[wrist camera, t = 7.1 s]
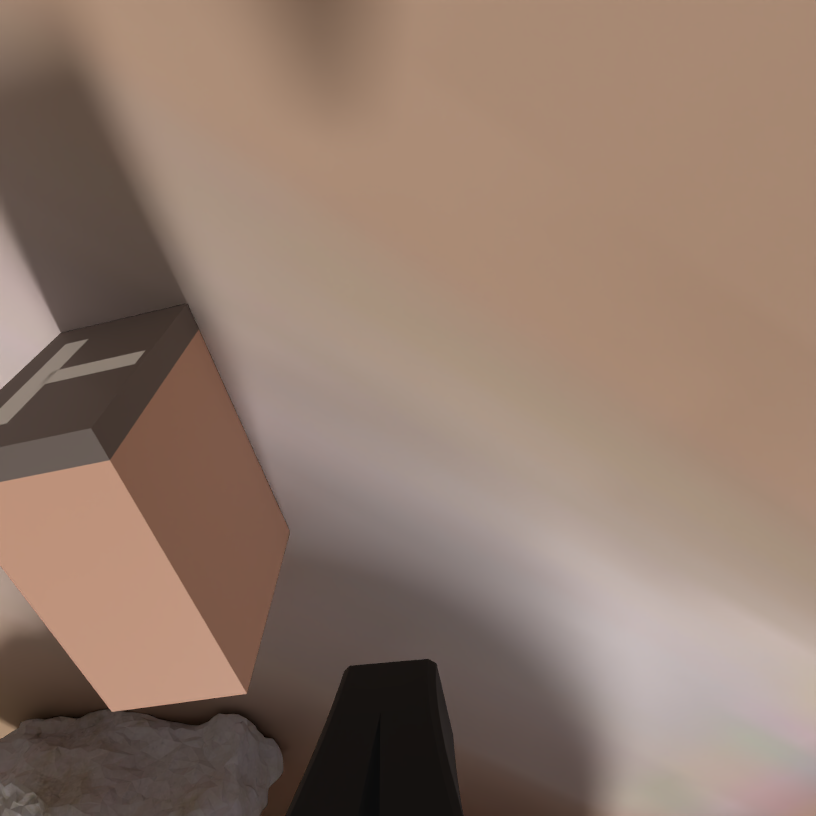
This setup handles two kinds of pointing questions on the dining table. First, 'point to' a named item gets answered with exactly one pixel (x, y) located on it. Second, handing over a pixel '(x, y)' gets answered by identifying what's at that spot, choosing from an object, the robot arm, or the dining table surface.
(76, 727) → the stone
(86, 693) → the dining table surface
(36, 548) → the tan cuboid
